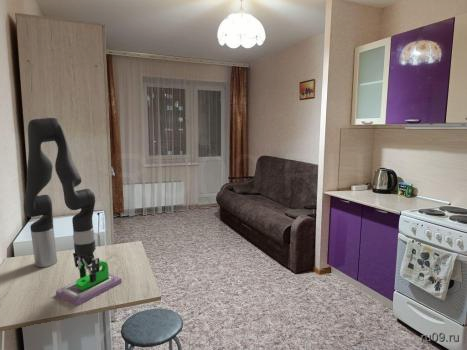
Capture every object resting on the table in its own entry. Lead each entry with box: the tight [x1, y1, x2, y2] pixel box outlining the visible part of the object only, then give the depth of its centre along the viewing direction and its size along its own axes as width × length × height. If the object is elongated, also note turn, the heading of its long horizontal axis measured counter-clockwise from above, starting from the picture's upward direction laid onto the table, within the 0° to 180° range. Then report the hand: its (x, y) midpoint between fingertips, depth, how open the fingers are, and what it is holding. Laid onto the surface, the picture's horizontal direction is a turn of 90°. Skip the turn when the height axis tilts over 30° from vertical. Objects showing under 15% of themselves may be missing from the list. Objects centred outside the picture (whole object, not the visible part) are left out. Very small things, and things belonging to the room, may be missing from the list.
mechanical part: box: [75, 260, 110, 291], centre depth 131 cm, size 12×6×8 cm, turn 147°
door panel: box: [55, 273, 123, 306], centre depth 132 cm, size 14×20×3 cm
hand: (88, 279), depth 130 cm, fingers closed on mechanical part, 6 cm apart
